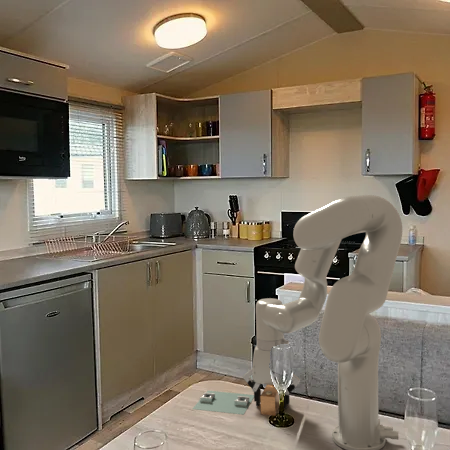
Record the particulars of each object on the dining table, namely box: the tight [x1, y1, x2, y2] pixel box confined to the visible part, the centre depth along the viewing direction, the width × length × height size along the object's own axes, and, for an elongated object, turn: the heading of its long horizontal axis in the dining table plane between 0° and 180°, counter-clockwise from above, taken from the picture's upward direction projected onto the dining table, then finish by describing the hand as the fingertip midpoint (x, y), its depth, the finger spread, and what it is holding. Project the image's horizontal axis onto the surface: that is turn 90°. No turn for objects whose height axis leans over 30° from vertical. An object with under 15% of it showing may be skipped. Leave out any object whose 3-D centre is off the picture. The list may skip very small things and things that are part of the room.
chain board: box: [192, 390, 254, 416], centre depth 144 cm, size 15×13×1 cm
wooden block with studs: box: [260, 384, 280, 416], centre depth 139 cm, size 4×10×7 cm, turn 162°
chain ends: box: [199, 392, 250, 407], centre depth 144 cm, size 14×4×1 cm, turn 72°
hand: (271, 404), depth 139 cm, fingers open, 7 cm apart
